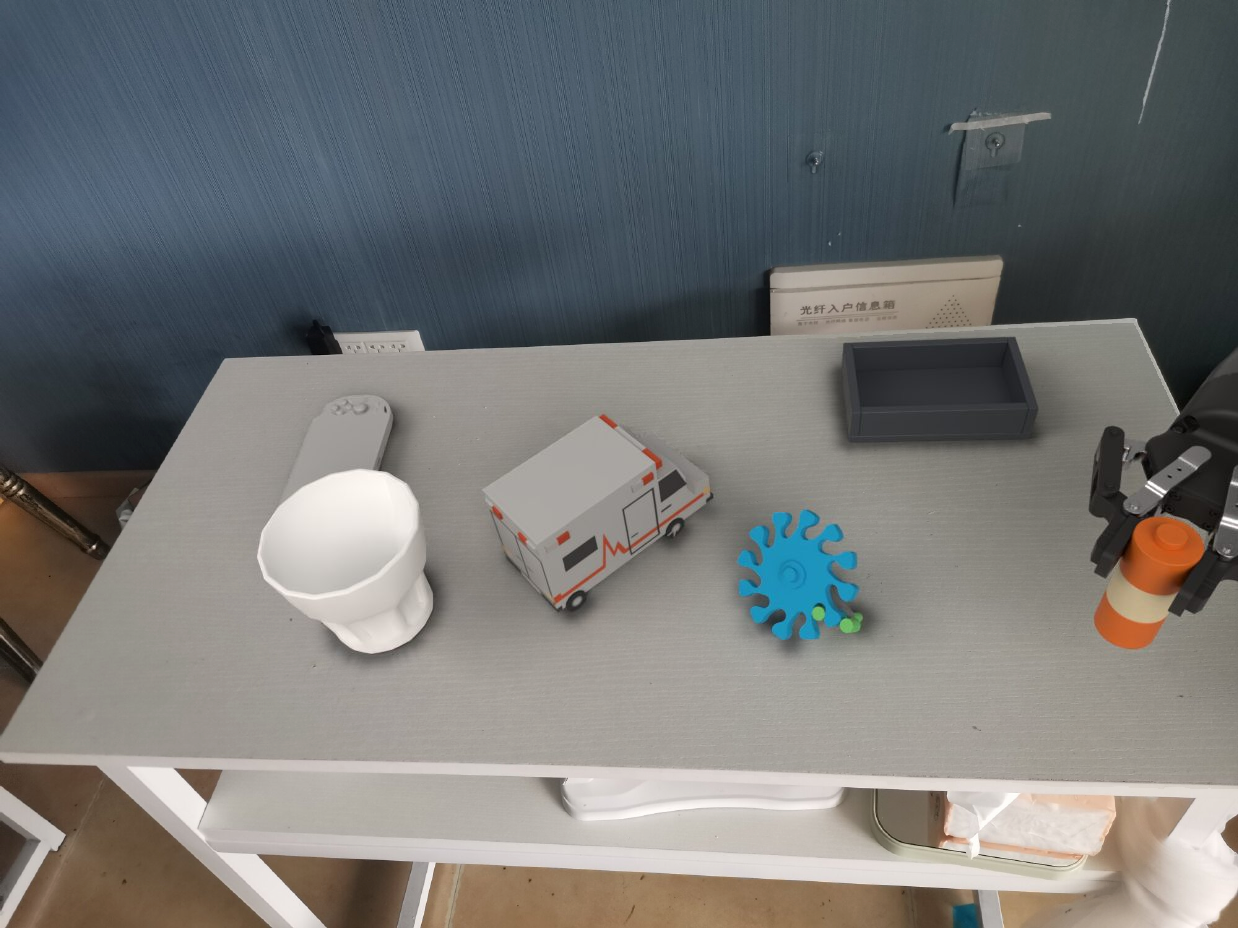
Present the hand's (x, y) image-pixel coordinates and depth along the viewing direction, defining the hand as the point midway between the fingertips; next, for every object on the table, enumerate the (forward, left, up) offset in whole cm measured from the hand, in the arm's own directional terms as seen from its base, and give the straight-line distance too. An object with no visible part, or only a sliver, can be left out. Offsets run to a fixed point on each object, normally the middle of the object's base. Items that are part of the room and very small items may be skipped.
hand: (1140, 585), depth 51 cm
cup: (+48, +24, -15) cm, 56 cm away
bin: (+22, -22, -15) cm, 35 cm away
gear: (+20, +4, -15) cm, 25 cm away
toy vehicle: (+37, +7, -15) cm, 40 cm away
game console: (+64, +16, -15) cm, 67 cm away
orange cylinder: (0, -3, -8) cm, 8 cm away
